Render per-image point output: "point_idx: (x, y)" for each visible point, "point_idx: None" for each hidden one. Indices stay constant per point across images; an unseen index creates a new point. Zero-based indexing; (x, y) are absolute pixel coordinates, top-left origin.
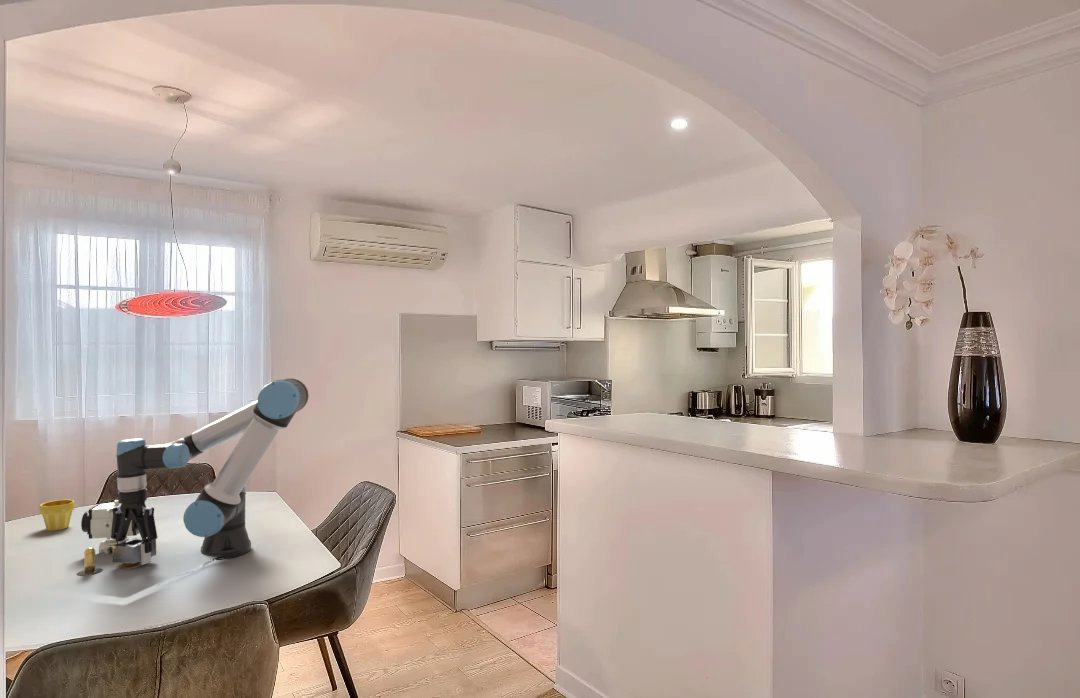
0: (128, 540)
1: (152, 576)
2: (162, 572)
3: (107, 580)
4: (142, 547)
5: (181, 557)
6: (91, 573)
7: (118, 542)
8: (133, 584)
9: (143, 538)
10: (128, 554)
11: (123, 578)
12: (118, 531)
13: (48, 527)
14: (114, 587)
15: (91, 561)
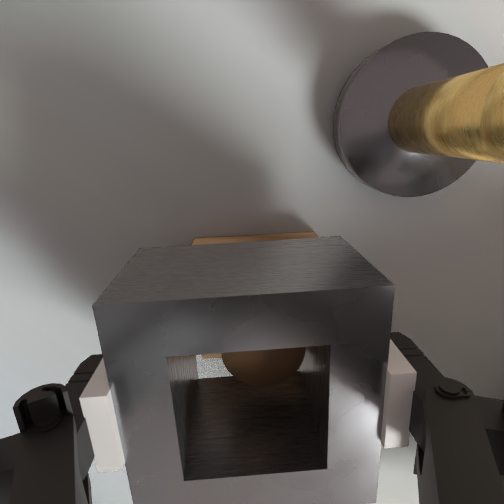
0: (365, 436)
1: (39, 249)
2: (52, 310)
3: (235, 111)
4: (99, 371)
5: None
6: (380, 100)
7: (409, 369)
8: (4, 112)
9: (42, 450)
10: (177, 269)
11: (171, 171)
12: (490, 480)
13: None
14: (64, 25)
15: (434, 103)
